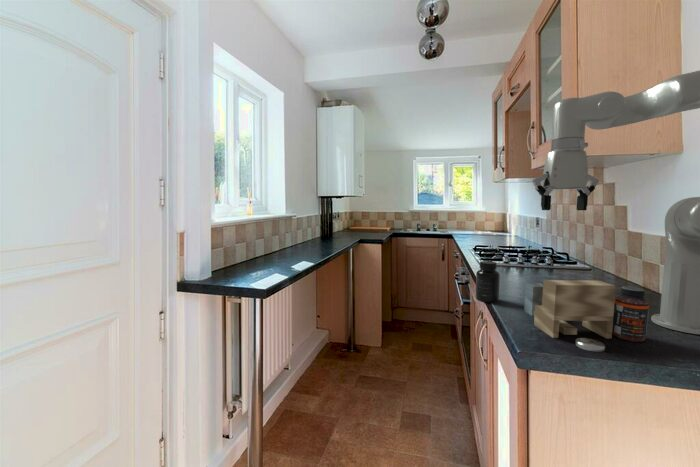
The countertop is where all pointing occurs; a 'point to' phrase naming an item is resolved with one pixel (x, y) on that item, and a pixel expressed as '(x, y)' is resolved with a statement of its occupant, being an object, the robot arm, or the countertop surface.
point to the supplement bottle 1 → (487, 282)
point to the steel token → (590, 344)
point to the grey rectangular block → (535, 298)
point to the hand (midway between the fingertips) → (563, 210)
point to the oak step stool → (576, 306)
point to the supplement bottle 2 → (630, 315)
